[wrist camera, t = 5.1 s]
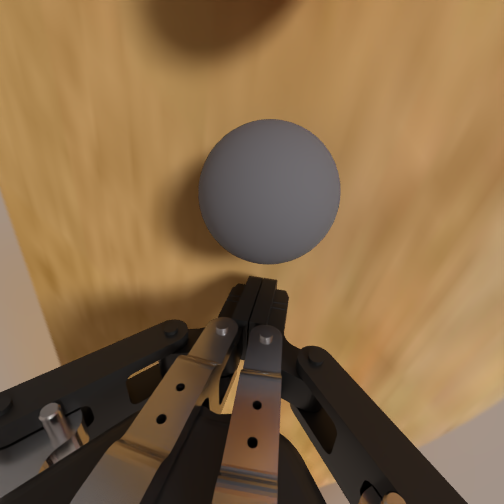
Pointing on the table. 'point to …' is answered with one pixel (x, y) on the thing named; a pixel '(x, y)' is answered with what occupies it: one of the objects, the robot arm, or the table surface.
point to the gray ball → (269, 191)
